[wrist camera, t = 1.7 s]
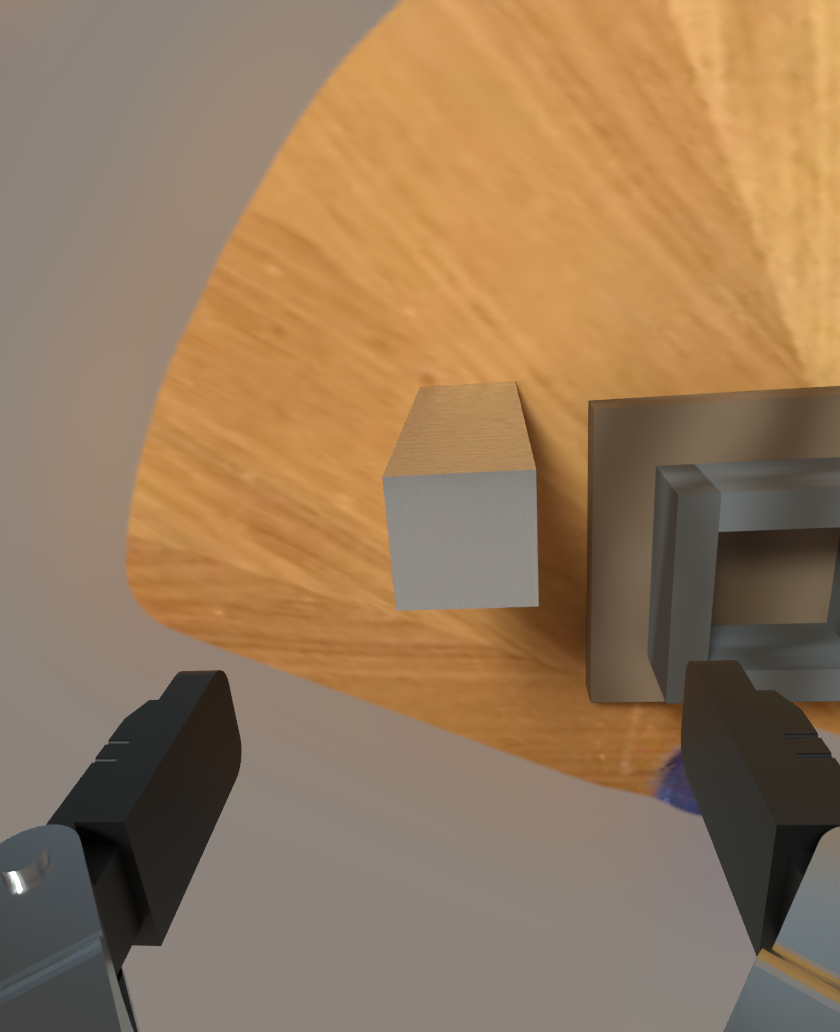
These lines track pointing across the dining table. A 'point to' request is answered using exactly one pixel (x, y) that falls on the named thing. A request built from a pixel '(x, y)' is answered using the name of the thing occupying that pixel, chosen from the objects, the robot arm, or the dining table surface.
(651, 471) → the square peg hole frame
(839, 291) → the dining table surface
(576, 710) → the dining table surface
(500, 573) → the square grey peg
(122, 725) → the robot arm
